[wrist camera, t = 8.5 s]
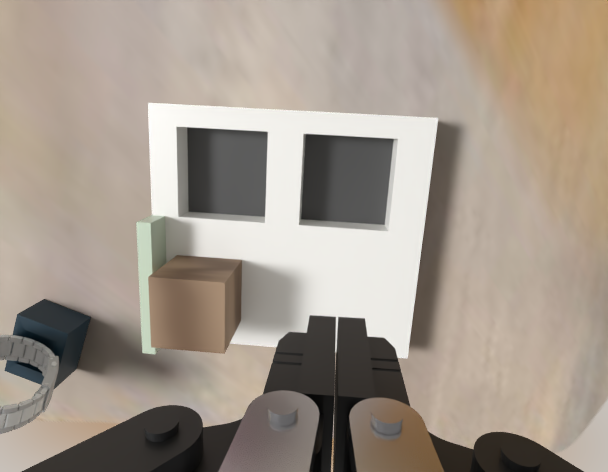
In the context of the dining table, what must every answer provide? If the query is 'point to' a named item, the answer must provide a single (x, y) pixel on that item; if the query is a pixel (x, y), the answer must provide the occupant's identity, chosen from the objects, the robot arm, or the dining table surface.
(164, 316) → the walnut block
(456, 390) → the dining table surface
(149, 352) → the board
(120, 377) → the dining table surface
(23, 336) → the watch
